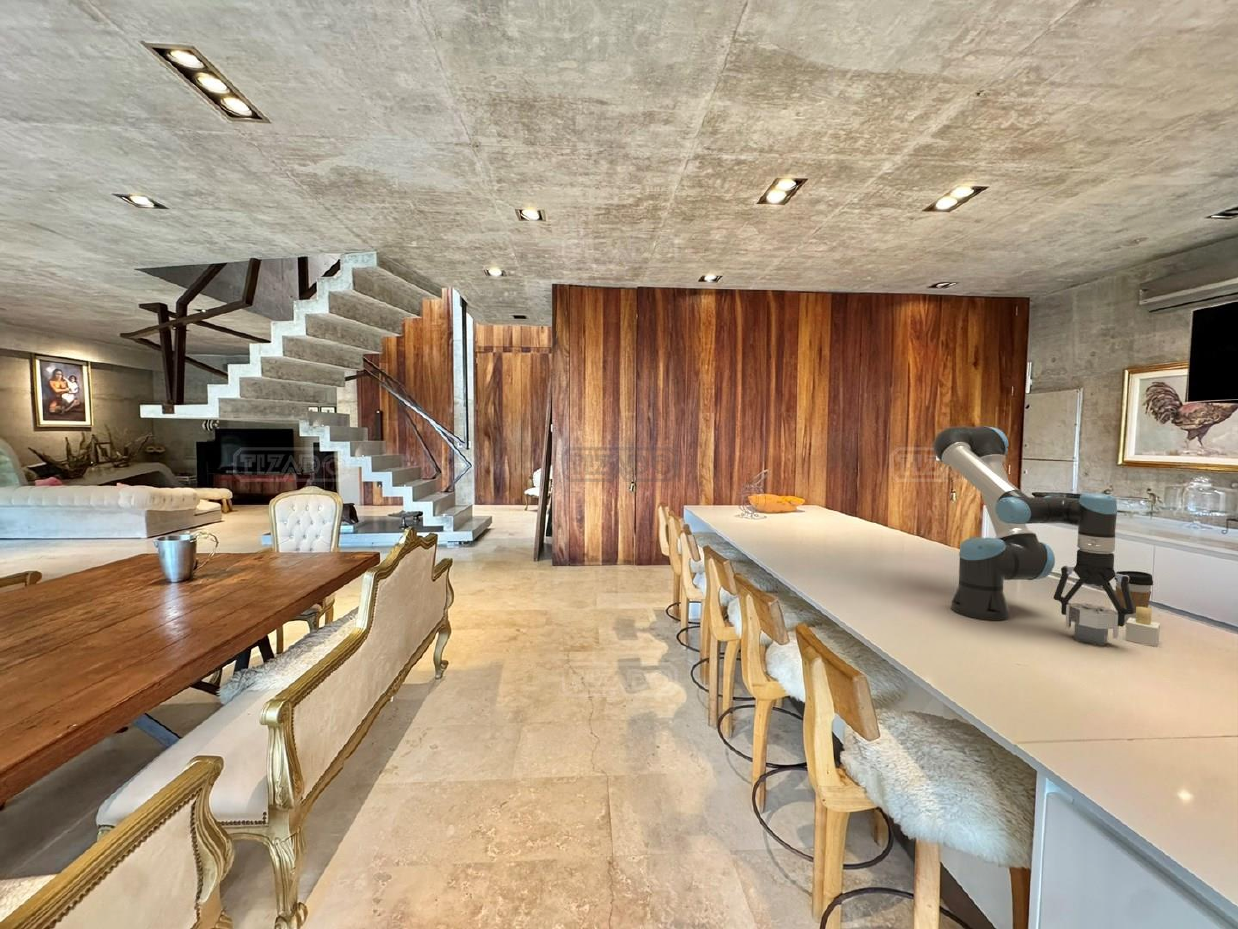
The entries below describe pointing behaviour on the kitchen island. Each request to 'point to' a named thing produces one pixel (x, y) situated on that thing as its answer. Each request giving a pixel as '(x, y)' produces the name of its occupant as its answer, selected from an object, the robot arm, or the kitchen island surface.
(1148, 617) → the hub
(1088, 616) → the ring
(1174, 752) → the kitchen island surface
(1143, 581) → the coffee cup
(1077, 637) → the stand
